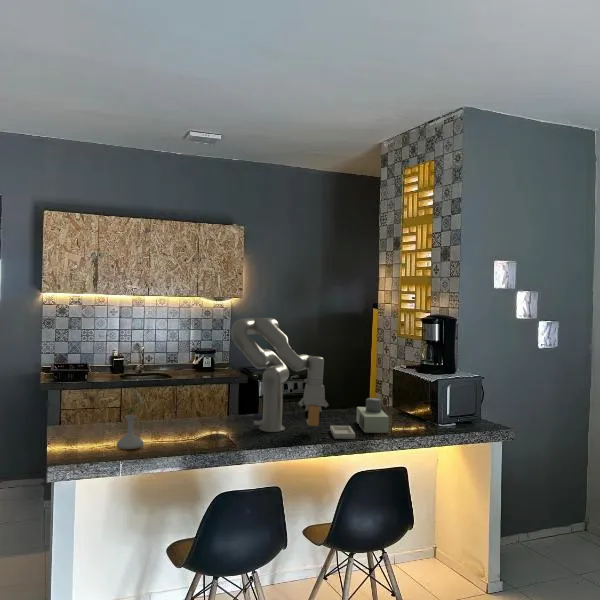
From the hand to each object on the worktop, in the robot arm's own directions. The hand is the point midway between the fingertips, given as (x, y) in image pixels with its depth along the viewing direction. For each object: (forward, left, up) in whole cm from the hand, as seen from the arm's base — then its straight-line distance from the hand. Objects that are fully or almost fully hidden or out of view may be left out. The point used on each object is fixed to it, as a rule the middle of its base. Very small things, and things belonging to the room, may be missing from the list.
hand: (312, 418), depth 294 cm
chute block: (0, 0, -2) cm, 2 cm away
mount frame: (+15, 0, -8) cm, 17 cm away
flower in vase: (-81, -27, -8) cm, 86 cm away
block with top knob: (+33, +17, -8) cm, 38 cm away
